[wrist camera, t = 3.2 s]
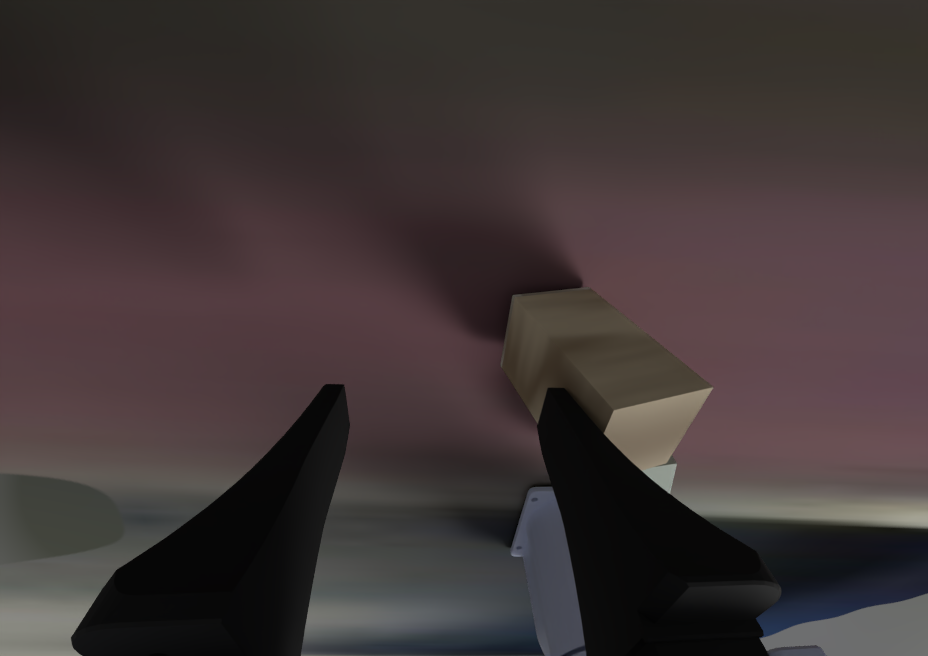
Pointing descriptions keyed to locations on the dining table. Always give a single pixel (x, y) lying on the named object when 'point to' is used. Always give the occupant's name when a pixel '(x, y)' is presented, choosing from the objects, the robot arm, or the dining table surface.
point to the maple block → (602, 371)
